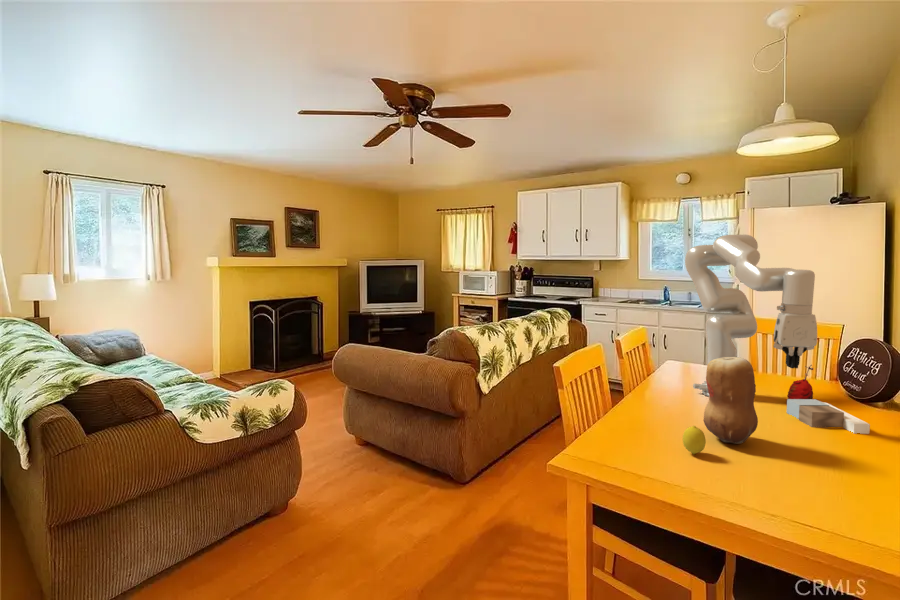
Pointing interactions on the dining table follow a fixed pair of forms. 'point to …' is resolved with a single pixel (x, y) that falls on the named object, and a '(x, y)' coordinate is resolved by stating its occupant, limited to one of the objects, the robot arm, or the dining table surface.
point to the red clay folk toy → (801, 389)
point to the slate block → (795, 403)
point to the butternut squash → (730, 399)
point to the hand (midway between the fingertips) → (792, 367)
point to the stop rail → (854, 423)
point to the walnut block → (821, 416)
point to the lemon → (694, 439)
